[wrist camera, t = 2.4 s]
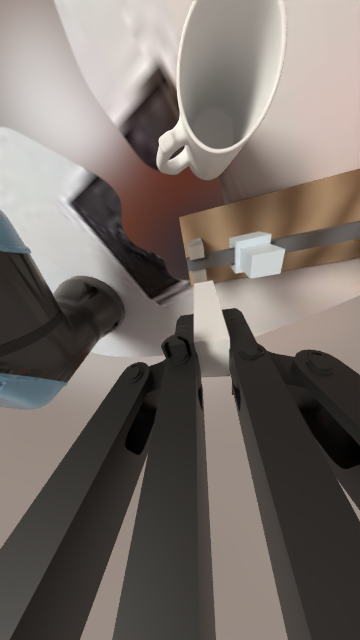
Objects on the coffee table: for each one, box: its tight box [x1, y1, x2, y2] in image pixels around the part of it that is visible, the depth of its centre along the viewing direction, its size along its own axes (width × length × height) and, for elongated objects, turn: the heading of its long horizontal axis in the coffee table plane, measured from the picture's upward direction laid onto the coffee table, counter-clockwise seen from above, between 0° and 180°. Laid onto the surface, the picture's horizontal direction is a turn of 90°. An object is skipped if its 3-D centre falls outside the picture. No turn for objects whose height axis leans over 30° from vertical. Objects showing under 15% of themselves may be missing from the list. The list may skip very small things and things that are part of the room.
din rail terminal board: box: [179, 169, 360, 287], centre depth 20 cm, size 32×12×9 cm, turn 102°
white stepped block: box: [229, 231, 285, 279], centre depth 18 cm, size 4×4×8 cm
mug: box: [157, 0, 287, 180], centre depth 14 cm, size 10×7×12 cm, turn 117°
